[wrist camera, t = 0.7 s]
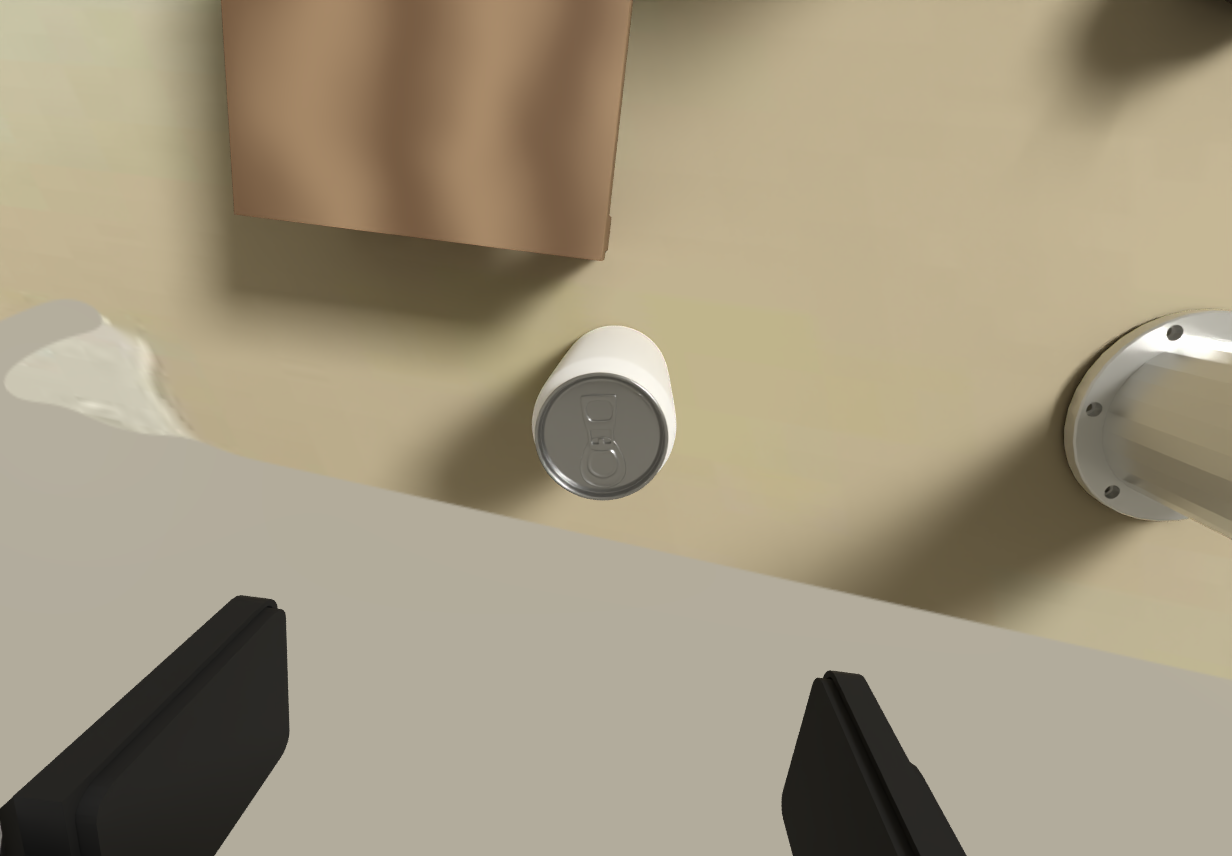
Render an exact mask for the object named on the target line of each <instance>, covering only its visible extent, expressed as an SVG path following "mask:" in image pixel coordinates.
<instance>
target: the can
mask: <svg viewBox="0 0 1232 856" xmlns="http://www.w3.org/2000/svg"><path fill="white" fill-rule="evenodd" d="M532 432H533V438H534V442H535V445H536V450H537V453H538V456H539V459H540V461H541V463H542V465H543V467H544V469H545V470H546V471H547V473H548V474H549V475H550V477H551V478H552V479H553V480H554V481H555V482H556V483H557V484H559V485H560V486H561V487H563V488H564V489H566V490H567V491H569V492H571V493H573V494H575V495H578V496H580V497H584V498H587V499H593V500H613V499H618V498H622V497H625V496H628V495H631V494H633V493H635V492H637V491H638V490H640V489H641V488H643V487H644V486H645V485H647V484H648V483H649V482H650V481H651V480H652V479H653V478H654V476H655V475H656V474H657V473H658V472H659V470H660V469H661V468H662V467H663V465H664V464H665V462H666V461H667V459H668V457H669V455H670V453H671V450H672V448H673V444H674V440H675V435H676V414H675V407H674V401H673V395H672V389H671V383H670V378H669V373H668V369H667V365H666V362H665V359H664V357H663V355H662V353H661V351H660V350H659V348H658V347H657V346H656V344H655V343H654V342H653V341H652V340H651V339H650V338H648V337H647V336H646V335H644V334H643V333H641V332H639V331H637V330H635V329H632V328H629V327H624V326H604V327H600V328H597V329H594V330H592V331H590V332H588V333H586V334H584V335H583V336H582V337H580V338H579V339H578V340H577V341H576V342H575V343H574V344H573V345H572V346H571V348H570V349H569V350H568V352H567V353H566V354H565V356H564V357H563V358H562V360H561V361H560V362H559V364H558V365H557V367H556V368H555V370H554V371H553V372H552V374H551V375H550V377H549V378H548V380H547V381H546V383H545V384H544V386H543V388H542V389H541V391H540V393H539V395H538V397H537V400H536V403H535V406H534V411H533V417H532Z"/></svg>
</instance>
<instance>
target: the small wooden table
mask: <svg viewBox="0 0 1232 856" xmlns="http://www.w3.org/2000/svg"><path fill="white" fill-rule="evenodd" d="M632 6H633V0H221V8H222V24H223V40H224V56H225V72H226V88H227V104H228V120H229V136H230V152H231V168H232V184H233V201H234V214H236V215H244V216H252V217H260V218H267V219H275V220H283V221H291V222H299V223H307V224H315V225H323V226H330V227H338V228H346V229H354V230H362V231H370V232H378V233H385V234H393V235H401V236H409V237H417V238H425V239H433V240H440V241H448V242H456V243H464V244H472V245H480V246H488V247H496V248H503V249H511V250H519V251H527V252H535V253H543V254H551V255H558V256H566V257H574V258H582V259H590V260H598V261H602V260H604V258H605V251H607V250H608V243H609V234H610V225H611V217H610V216H609V213H610V204H611V195H612V186H613V177H614V168H615V159H616V150H617V141H618V132H619V123H620V114H621V105H622V96H623V87H624V78H625V69H626V60H627V51H628V42H629V33H630V24H631V15H632Z"/></svg>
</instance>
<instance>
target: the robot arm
mask: <svg viewBox="0 0 1232 856" xmlns="http://www.w3.org/2000/svg"><path fill="white" fill-rule="evenodd" d="M1064 447H1065V452H1066V456H1067V460H1068V464H1069V466H1070V468H1071V470H1072V472H1073V474H1074V476H1075V478H1076V480H1077V481H1078V482H1079V484H1080V485H1081V486H1082V487H1083V488H1084V489H1085V491H1086V492H1087V493H1088V494H1090V495H1091V496H1092V497H1094V498H1095V499H1096V500H1098V501H1099V502H1100V503H1102V504H1104V505H1106V506H1108V507H1109V508H1111V509H1113V510H1115V511H1117V512H1119V513H1121V514H1124V515H1127V516H1130V517H1133V518H1136V519H1142V520H1150V521H1179V520H1184V519H1189V518H1190V519H1192V520H1194V521H1196V522H1198V523H1200V524H1202V525H1204V526H1206V527H1208V528H1210V529H1212V530H1214V531H1216V532H1218V533H1220V534H1222V535H1224V536H1226V537H1227V538H1229V539H1231V540H1232V311H1229V310H1219V309H1198V310H1186V311H1182V312H1178V313H1174V314H1169V315H1165V316H1163V317H1160V318H1158V319H1155V320H1153V321H1151V322H1148V323H1146V324H1143V325H1141V326H1140V327H1138V328H1137V329H1135V330H1133V331H1132V332H1130V333H1128V334H1127V335H1125V336H1123V337H1122V338H1120V339H1119V340H1118V341H1117V342H1116V343H1115V344H1113V345H1112V346H1111V347H1110V348H1109V349H1107V350H1106V351H1105V352H1104V353H1103V354H1102V355H1101V356H1100V357H1099V358H1098V359H1097V361H1096V362H1095V363H1094V364H1093V365H1092V366H1091V367H1090V369H1089V370H1088V371H1087V373H1086V374H1085V376H1084V377H1083V379H1082V381H1081V382H1080V384H1079V385H1078V387H1077V389H1076V391H1075V393H1074V396H1073V398H1072V401H1071V403H1070V405H1069V408H1068V412H1067V417H1066V422H1065V427H1064ZM288 738H289V704H288V671H287V640H286V615H285V612H284V610H282V609H278V608H277V604H276V602H275V601H274V600H272V599H266V598H258V597H250V596H243V595H240V596H236V597H235V598H233V599H232V600H231V601H230V602H228V603H227V604H226V605H225V606H224V607H223V608H222V609H221V610H220V611H218V612H217V613H216V614H215V615H214V616H213V617H212V618H211V619H210V620H208V621H207V622H206V623H205V624H204V625H203V626H202V627H201V628H200V629H199V630H197V631H196V632H195V633H194V634H193V635H192V636H191V637H190V638H188V639H187V640H186V641H185V642H184V643H183V644H182V645H181V646H180V647H178V648H177V649H176V650H175V651H174V652H173V653H172V654H171V655H170V656H168V657H167V658H166V659H165V660H164V661H163V662H162V663H161V664H160V665H158V666H157V667H156V668H155V669H154V670H153V671H152V672H151V673H150V674H148V675H147V676H146V677H145V678H144V679H143V680H142V681H141V682H140V683H139V684H138V685H136V686H135V687H134V688H133V689H132V690H131V691H130V692H128V693H127V694H126V695H125V696H124V697H123V698H122V699H121V700H120V701H119V702H117V703H116V704H115V705H114V706H113V707H112V708H111V709H110V710H108V711H107V712H106V713H105V714H104V715H103V716H102V717H101V718H100V719H98V720H97V721H96V722H95V723H94V724H93V725H92V726H91V727H90V728H88V729H87V730H86V731H85V732H84V733H83V734H82V735H81V736H80V737H78V738H77V739H76V740H75V741H74V742H73V743H72V744H71V745H70V746H68V747H67V748H66V749H65V750H64V751H63V752H62V753H61V754H60V755H58V756H57V757H56V758H55V759H54V760H53V761H52V762H51V763H50V764H48V766H46V767H45V768H44V769H43V770H42V771H41V772H40V773H38V774H37V775H36V776H35V777H34V778H33V779H32V780H31V781H30V782H28V783H27V784H26V785H25V786H24V787H23V788H22V789H21V790H20V791H18V792H17V793H16V794H15V795H14V796H13V797H12V798H11V799H10V800H9V801H8V802H7V803H6V804H5V805H4V806H2V807H1V808H0V856H214V855H215V854H216V852H217V850H218V849H219V848H220V846H221V845H222V844H223V842H224V841H225V839H226V838H227V836H228V835H229V833H230V832H231V830H232V829H233V827H234V826H235V824H236V823H237V821H238V820H239V818H240V817H241V815H242V814H243V813H244V811H245V810H246V808H247V807H248V805H249V803H250V802H251V801H252V799H253V798H254V796H255V795H256V793H257V792H258V790H259V789H260V787H261V786H262V784H263V783H264V781H265V780H266V778H267V777H268V775H269V774H270V773H271V771H272V770H273V768H274V767H275V765H276V764H277V762H278V761H279V759H280V758H281V756H282V754H283V753H284V750H285V748H286V745H287V742H288ZM782 815H783V820H784V824H785V828H786V831H787V835H788V839H789V843H790V846H791V850H792V854H793V856H966V854H965V852H964V850H963V848H962V847H961V845H960V843H959V841H958V839H957V837H956V836H955V834H954V832H953V830H952V828H951V827H950V825H949V823H948V821H947V819H946V817H945V816H944V814H943V812H942V810H941V808H940V807H939V805H938V803H937V801H936V799H935V797H934V796H933V794H932V792H931V790H930V788H929V787H928V785H927V783H926V781H925V779H924V778H923V776H922V774H921V773H920V771H919V770H918V768H917V767H916V766H915V765H913V764H912V763H910V762H909V760H908V758H907V756H906V754H905V752H904V751H903V749H902V747H901V745H900V743H899V741H898V739H897V737H896V736H895V734H894V732H893V730H892V728H891V726H890V724H889V723H888V721H887V719H886V717H885V715H884V713H883V711H882V710H881V708H880V706H879V704H878V702H877V700H876V698H875V697H874V695H873V693H872V691H871V689H870V688H869V685H868V684H867V682H866V680H865V679H864V677H863V676H862V675H860V674H853V673H845V672H838V671H827V672H826V673H825V675H824V677H823V678H816V679H815V680H814V682H813V685H812V688H811V692H810V696H809V699H808V703H807V706H806V710H805V714H804V717H803V721H802V725H801V728H800V732H799V735H798V739H797V742H796V746H795V750H794V753H793V757H792V760H791V764H790V768H789V771H788V775H787V778H786V782H785V786H784V789H783V794H782Z"/></svg>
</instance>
